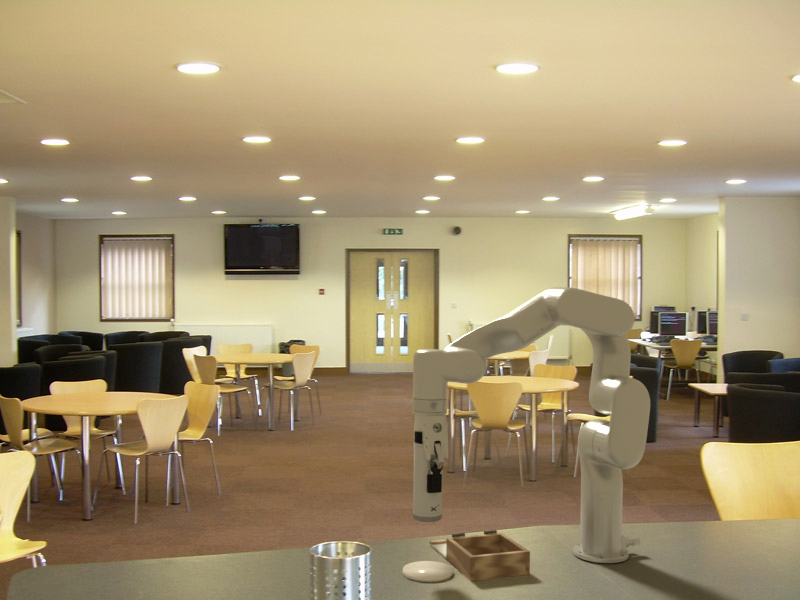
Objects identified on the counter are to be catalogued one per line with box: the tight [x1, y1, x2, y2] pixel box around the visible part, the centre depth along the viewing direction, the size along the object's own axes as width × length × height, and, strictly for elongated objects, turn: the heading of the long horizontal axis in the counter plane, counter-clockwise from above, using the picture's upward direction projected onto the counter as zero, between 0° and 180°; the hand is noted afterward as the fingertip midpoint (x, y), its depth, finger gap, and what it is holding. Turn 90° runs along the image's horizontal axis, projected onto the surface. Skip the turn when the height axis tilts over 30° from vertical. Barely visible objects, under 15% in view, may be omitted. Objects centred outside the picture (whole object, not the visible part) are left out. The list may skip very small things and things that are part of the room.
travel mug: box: [412, 431, 443, 523], centre depth 179 cm, size 6×7×20 cm
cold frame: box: [429, 529, 531, 582], centre depth 189 cm, size 14×25×6 cm, turn 18°
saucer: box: [402, 560, 454, 583], centre depth 179 cm, size 11×11×1 cm
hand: (428, 487), depth 179 cm, fingers closed on travel mug, 6 cm apart
